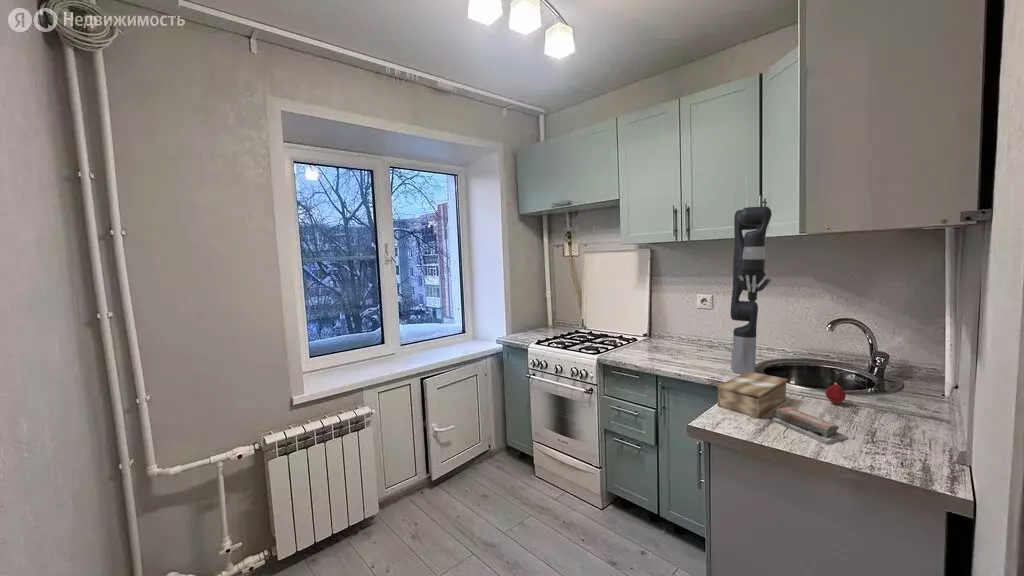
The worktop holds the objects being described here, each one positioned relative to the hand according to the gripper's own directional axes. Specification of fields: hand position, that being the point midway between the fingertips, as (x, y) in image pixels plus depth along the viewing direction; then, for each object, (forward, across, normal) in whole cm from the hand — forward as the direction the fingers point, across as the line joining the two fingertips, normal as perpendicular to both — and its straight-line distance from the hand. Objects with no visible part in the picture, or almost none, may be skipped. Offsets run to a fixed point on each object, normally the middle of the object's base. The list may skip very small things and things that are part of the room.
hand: (752, 301), depth 161 cm
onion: (+37, -26, -9) cm, 46 cm away
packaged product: (+38, -27, +22) cm, 51 cm away
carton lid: (+29, -7, +13) cm, 33 cm away
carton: (+37, -6, +13) cm, 40 cm away
